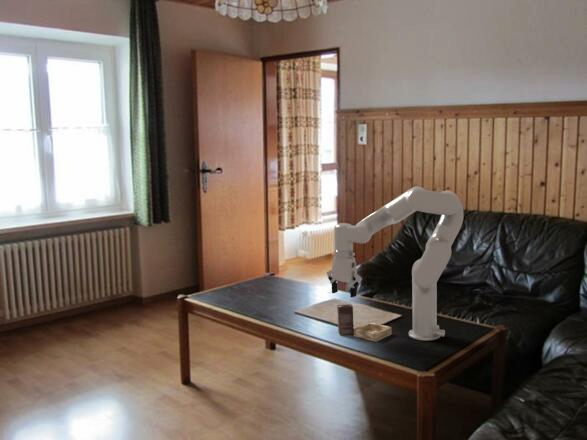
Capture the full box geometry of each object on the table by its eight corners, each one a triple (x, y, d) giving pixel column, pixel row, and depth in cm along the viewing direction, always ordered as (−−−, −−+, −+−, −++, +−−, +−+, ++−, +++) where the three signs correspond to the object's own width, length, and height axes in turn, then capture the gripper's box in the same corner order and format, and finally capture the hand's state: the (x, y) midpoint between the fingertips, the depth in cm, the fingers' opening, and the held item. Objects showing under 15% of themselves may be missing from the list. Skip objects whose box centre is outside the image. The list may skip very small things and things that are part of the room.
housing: (391, 334, 248) (391, 327, 248) (376, 341, 240) (375, 334, 240) (369, 328, 256) (369, 322, 255) (353, 336, 248) (353, 329, 247)
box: (351, 331, 253) (351, 303, 252) (353, 334, 249) (353, 306, 247) (337, 332, 253) (336, 304, 251) (339, 335, 248) (338, 307, 247)
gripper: (366, 255, 243) (366, 296, 245) (332, 249, 254) (333, 289, 257) (355, 258, 237) (355, 300, 240) (321, 252, 249) (321, 293, 252)
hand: (344, 294), depth 249 cm, fingers open, 9 cm apart
